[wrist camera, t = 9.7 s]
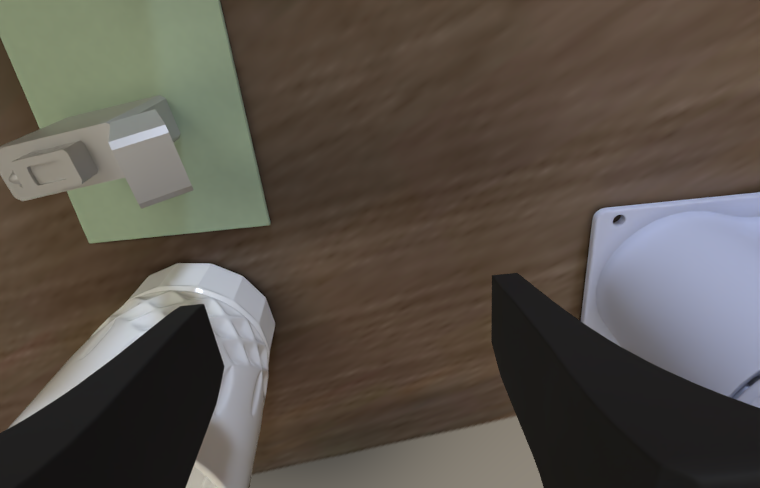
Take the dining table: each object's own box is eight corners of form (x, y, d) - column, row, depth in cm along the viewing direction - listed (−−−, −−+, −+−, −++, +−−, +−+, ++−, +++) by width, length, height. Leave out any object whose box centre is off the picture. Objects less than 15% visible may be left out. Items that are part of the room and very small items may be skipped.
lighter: (85, 160, 19) (-76, 259, 12) (62, 118, 19) (-123, 198, 12) (254, 121, 19) (187, 200, 12) (238, 75, 18) (156, 131, 11)
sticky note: (210, -41, 17) (208, -41, 16) (270, 223, 21) (269, 225, 21) (-18, -14, 17) (-23, -15, 17) (91, 241, 21) (89, 243, 21)
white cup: (320, 331, 24) (294, 531, 15) (208, 404, 26) (127, 617, 17) (202, 216, 21) (82, 383, 12) (85, 309, 23) (-90, 509, 14)
